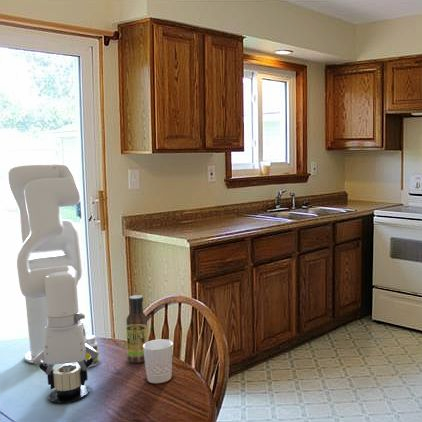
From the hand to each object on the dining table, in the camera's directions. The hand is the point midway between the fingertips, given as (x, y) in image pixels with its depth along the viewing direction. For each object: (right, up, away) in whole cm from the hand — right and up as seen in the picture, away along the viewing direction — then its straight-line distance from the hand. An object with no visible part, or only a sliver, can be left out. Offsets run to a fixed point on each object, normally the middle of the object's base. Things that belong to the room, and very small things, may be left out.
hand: (68, 384), depth 141 cm
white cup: (+22, -1, +9) cm, 24 cm away
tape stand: (0, -3, 0) cm, 3 cm away
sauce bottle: (+12, 0, +22) cm, 26 cm away
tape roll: (0, 0, 0) cm, 0 cm away
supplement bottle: (-2, -1, +20) cm, 20 cm away
